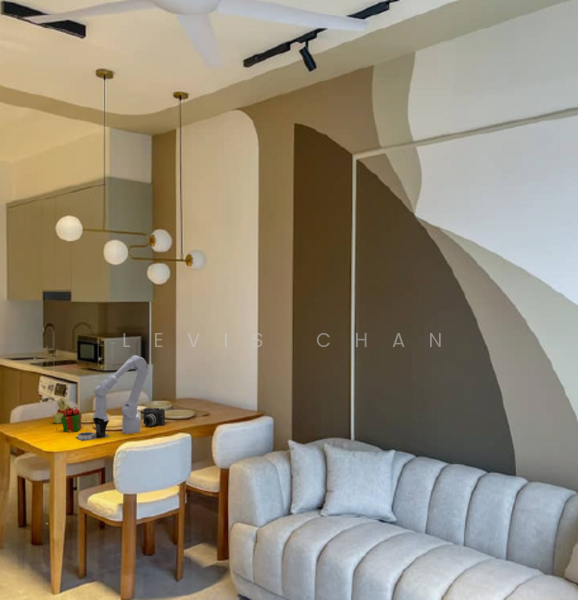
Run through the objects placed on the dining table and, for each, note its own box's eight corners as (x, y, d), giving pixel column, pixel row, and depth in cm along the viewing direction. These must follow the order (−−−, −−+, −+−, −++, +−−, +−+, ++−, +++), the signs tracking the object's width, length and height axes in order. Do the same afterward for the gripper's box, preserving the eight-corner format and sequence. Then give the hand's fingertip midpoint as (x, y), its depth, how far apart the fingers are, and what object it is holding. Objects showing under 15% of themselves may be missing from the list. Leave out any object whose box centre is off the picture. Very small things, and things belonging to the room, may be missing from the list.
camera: (135, 425, 351) (135, 409, 351) (146, 421, 361) (146, 405, 361) (156, 428, 346) (156, 411, 346) (166, 424, 356) (166, 408, 356)
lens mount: (103, 434, 331) (103, 428, 331) (110, 438, 324) (110, 432, 323) (74, 438, 321) (74, 433, 321) (81, 443, 313) (81, 437, 313)
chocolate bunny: (73, 421, 359) (73, 397, 358) (55, 424, 351) (55, 399, 350) (67, 419, 364) (67, 395, 363) (50, 422, 356) (50, 397, 355)
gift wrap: (60, 431, 342) (57, 407, 343) (93, 427, 344) (90, 403, 344) (49, 439, 322) (46, 412, 323) (84, 434, 324) (81, 408, 324)
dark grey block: (103, 433, 329) (103, 422, 328) (106, 435, 325) (107, 424, 325) (94, 435, 325) (94, 424, 325) (98, 437, 322) (98, 426, 321)
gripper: (88, 405, 327) (88, 430, 328) (99, 410, 316) (99, 435, 317) (100, 404, 332) (100, 428, 332) (111, 408, 321) (111, 433, 322)
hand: (100, 431), depth 325 cm, fingers closed on dark grey block, 5 cm apart
